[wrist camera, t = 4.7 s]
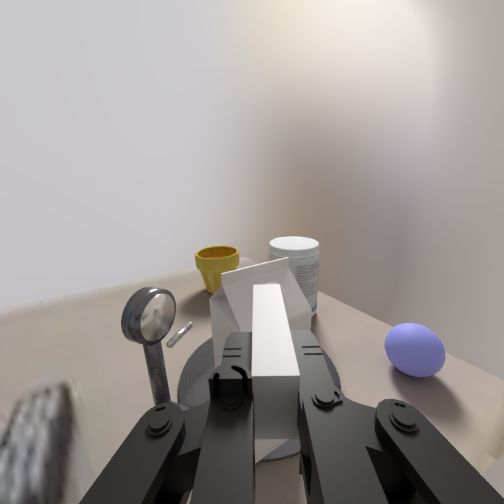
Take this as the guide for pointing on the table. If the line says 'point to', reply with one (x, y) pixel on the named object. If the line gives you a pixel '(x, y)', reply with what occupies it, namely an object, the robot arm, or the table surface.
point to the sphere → (415, 350)
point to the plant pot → (216, 264)
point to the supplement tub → (300, 263)
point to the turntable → (197, 391)
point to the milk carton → (241, 313)
